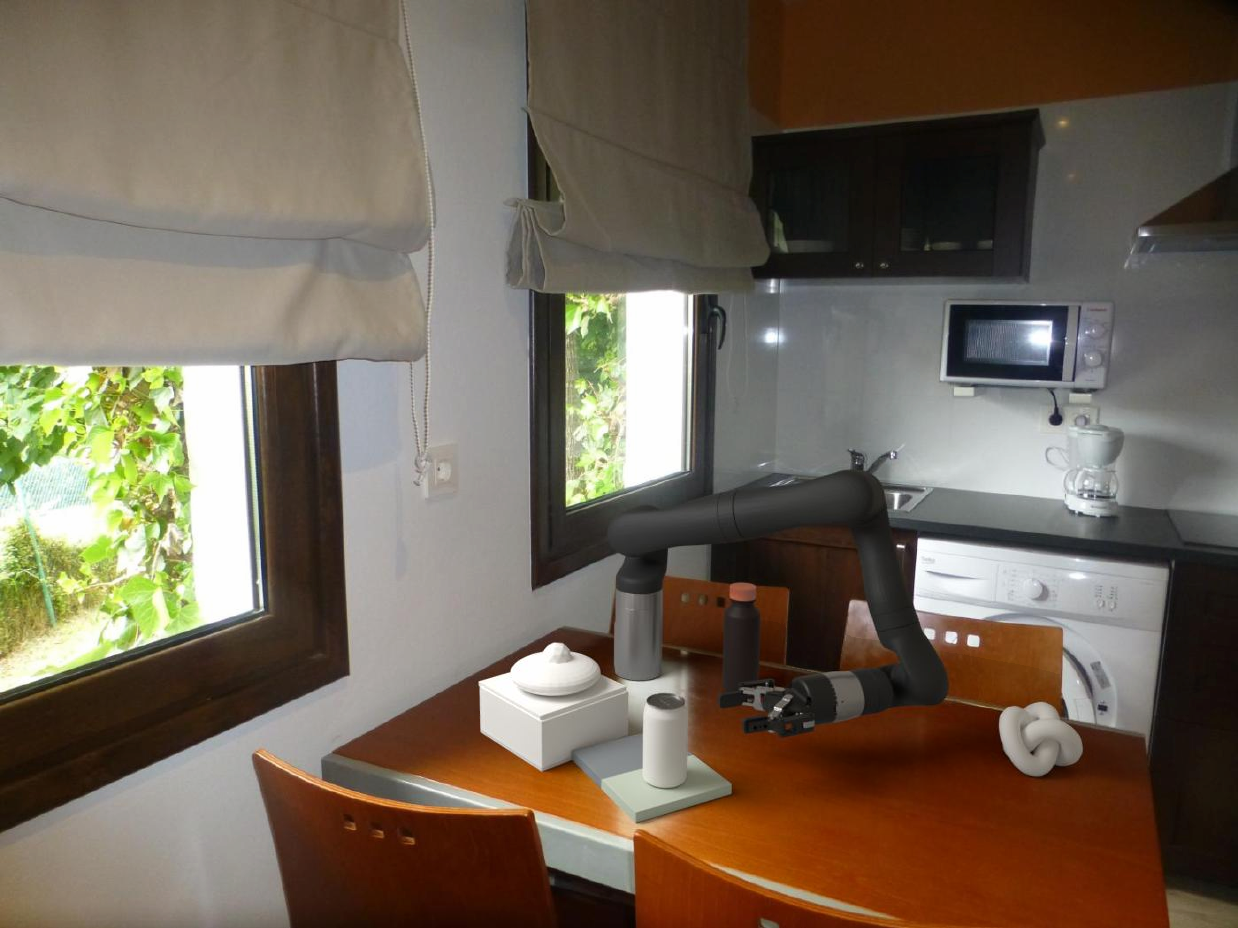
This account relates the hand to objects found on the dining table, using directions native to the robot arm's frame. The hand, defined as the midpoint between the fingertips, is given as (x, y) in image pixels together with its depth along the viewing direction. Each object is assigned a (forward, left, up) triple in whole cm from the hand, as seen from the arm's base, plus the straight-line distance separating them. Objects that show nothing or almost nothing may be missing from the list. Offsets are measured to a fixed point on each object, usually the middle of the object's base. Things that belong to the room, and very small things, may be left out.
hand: (730, 713), depth 127 cm
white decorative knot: (+20, +43, -10) cm, 48 cm away
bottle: (-25, +21, -10) cm, 34 cm away
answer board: (-5, -11, -10) cm, 16 cm away
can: (-1, -11, -8) cm, 14 cm away
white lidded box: (-25, -18, -10) cm, 32 cm away
